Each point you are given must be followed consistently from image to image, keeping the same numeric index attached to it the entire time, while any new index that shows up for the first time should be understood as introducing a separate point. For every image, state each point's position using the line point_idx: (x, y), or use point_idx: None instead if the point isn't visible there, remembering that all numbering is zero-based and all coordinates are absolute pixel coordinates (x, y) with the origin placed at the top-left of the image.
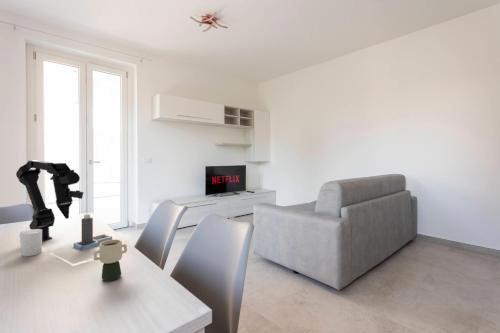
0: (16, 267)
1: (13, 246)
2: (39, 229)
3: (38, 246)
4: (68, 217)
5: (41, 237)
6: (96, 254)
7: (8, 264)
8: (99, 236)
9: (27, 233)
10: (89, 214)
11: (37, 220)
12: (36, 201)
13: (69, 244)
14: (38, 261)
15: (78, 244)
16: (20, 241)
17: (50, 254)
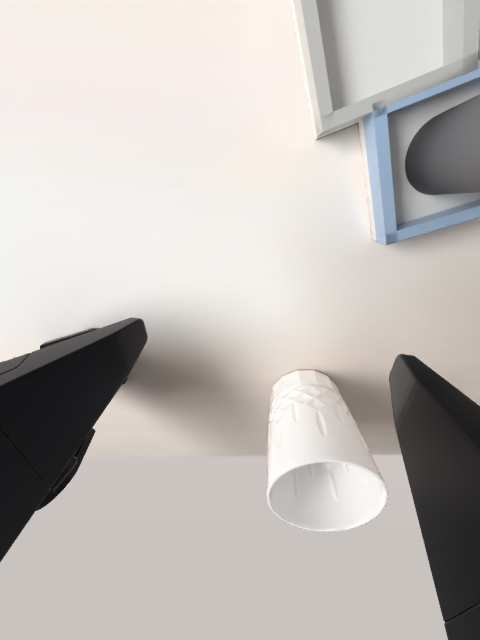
0: None
1: (149, 438)
2: (294, 467)
3: (341, 402)
4: (419, 363)
5: (339, 424)
6: None
7: (381, 447)
8: (314, 11)
9: (273, 487)
10: None
11: (62, 484)
12: None
13: (268, 256)
14: None
15: (448, 216)
16: (328, 483)
17: (382, 341)
